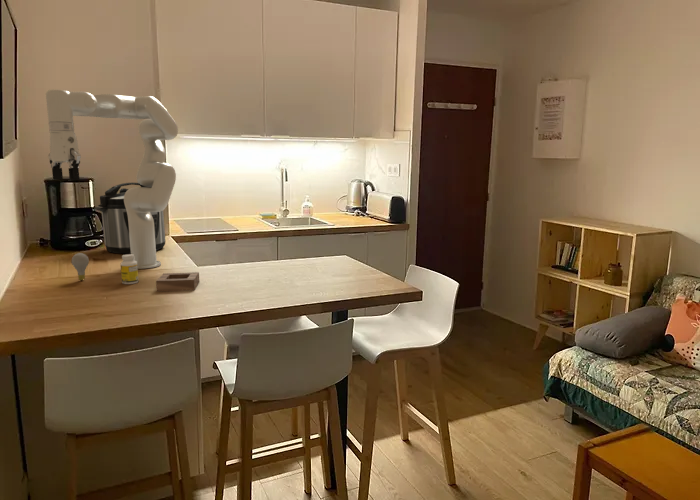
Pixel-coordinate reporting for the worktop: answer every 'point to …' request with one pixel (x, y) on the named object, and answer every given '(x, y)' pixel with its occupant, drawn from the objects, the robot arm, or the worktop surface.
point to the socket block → (177, 281)
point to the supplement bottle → (129, 269)
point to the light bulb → (80, 264)
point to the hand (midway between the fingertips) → (66, 179)
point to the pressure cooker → (123, 221)
